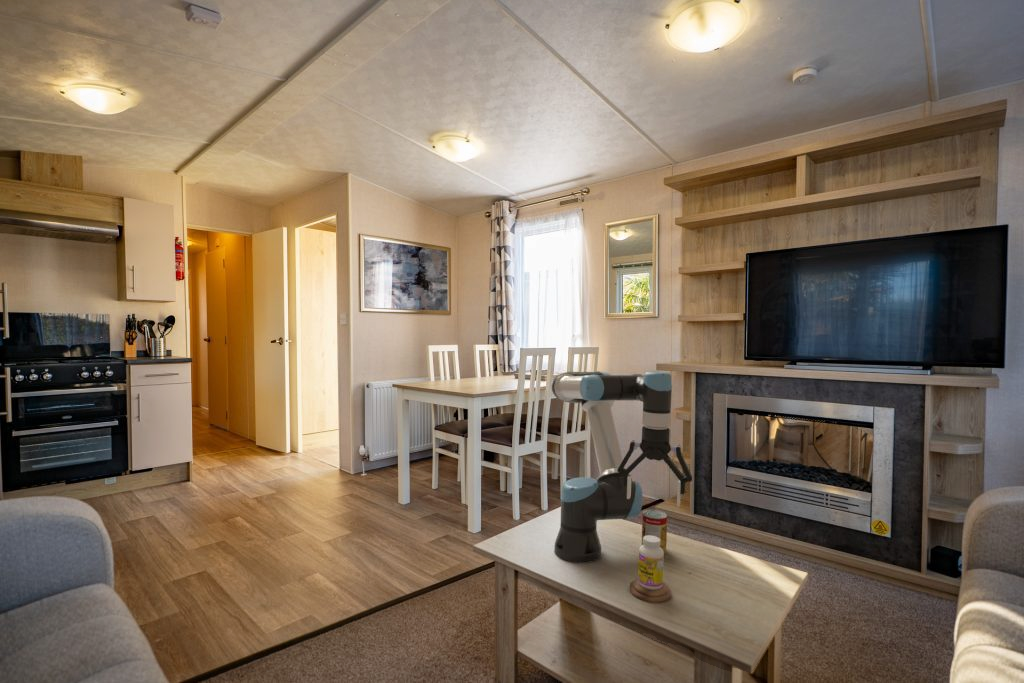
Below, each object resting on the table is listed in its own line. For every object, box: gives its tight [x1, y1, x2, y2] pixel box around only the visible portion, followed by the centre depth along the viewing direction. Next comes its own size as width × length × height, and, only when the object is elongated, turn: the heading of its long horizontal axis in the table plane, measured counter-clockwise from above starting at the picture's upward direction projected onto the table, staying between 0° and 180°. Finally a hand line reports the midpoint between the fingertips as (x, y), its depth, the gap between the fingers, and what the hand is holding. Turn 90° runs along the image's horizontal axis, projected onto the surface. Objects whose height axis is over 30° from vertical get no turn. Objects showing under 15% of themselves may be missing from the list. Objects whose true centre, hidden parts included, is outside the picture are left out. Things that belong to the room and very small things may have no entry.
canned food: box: [641, 509, 668, 554], centre depth 166 cm, size 8×8×12 cm
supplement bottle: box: [637, 535, 665, 590], centre depth 138 cm, size 7×7×13 cm
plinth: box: [629, 577, 672, 604], centre depth 138 cm, size 11×11×2 cm
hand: (653, 501), depth 142 cm, fingers open, 13 cm apart
